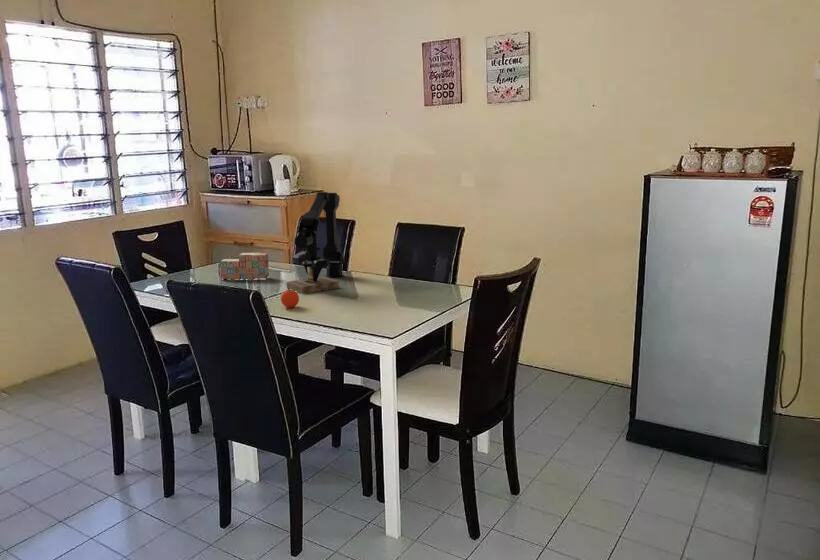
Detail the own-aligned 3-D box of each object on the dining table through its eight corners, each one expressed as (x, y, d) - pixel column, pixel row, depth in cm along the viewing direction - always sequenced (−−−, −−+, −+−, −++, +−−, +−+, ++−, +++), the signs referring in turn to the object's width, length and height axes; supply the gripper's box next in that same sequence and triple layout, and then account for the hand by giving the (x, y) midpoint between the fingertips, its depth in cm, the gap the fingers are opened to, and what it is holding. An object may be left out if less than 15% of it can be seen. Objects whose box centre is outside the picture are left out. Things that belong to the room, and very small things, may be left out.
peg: (314, 283, 288) (313, 265, 286) (319, 285, 285) (318, 267, 283) (306, 284, 285) (305, 266, 284) (311, 286, 282) (310, 268, 280)
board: (322, 282, 296) (322, 276, 295) (338, 287, 285) (338, 281, 285) (286, 288, 285) (286, 281, 285) (302, 294, 274) (302, 287, 274)
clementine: (293, 303, 258) (292, 286, 257) (305, 306, 254) (304, 288, 252) (277, 307, 252) (276, 290, 251) (289, 310, 248) (288, 292, 246)
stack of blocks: (220, 280, 305) (219, 254, 302) (225, 278, 311) (223, 252, 308) (265, 280, 303) (264, 254, 301) (269, 278, 309) (268, 252, 307)
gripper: (284, 244, 284) (286, 279, 287) (304, 249, 269) (306, 286, 272) (306, 242, 290) (308, 276, 294) (328, 246, 276) (329, 282, 279)
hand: (312, 280), depth 285 cm, fingers closed on peg, 4 cm apart
